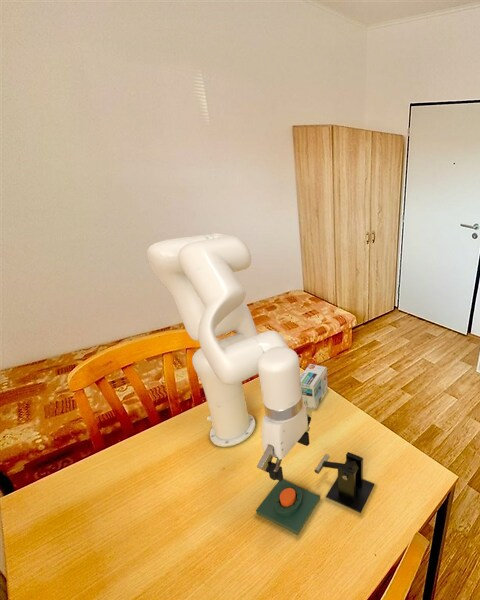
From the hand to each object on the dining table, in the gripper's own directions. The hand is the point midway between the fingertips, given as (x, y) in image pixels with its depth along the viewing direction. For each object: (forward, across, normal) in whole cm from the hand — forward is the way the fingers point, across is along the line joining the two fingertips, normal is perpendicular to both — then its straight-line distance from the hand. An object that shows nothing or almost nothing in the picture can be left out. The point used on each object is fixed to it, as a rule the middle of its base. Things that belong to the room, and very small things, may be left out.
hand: (290, 459), depth 73 cm
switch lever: (+9, -8, +8) cm, 14 cm away
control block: (+16, +2, -1) cm, 16 cm away
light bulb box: (+16, -33, -17) cm, 41 cm away
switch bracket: (+16, -8, +12) cm, 21 cm away
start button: (+13, +2, -1) cm, 13 cm away
